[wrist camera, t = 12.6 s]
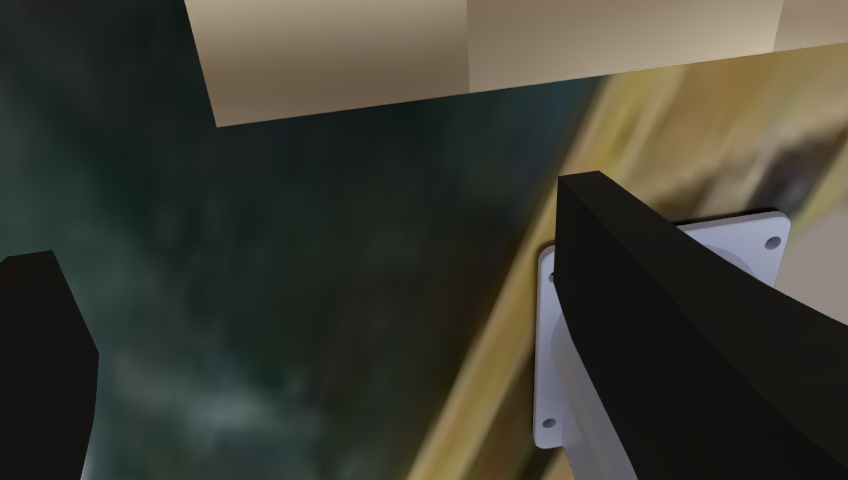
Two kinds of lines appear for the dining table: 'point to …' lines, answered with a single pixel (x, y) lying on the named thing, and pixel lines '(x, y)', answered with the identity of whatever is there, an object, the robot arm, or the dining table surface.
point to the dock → (469, 45)
